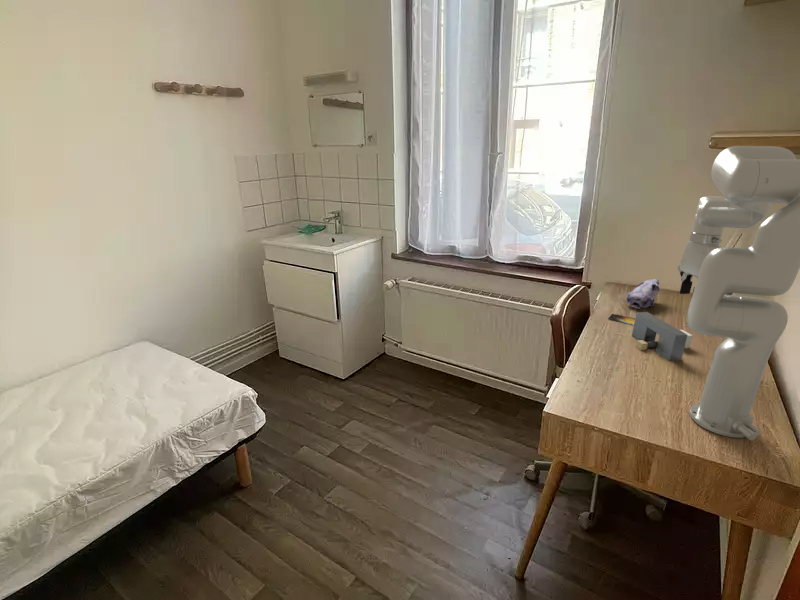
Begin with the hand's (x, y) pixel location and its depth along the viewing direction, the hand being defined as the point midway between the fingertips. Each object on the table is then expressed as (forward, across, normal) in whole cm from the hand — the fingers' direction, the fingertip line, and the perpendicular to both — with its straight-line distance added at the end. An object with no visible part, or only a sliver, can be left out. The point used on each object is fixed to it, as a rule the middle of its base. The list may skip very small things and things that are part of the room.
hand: (690, 295), depth 137 cm
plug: (+17, 0, +6) cm, 18 cm away
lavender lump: (+18, +34, -12) cm, 40 cm away
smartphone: (+18, +20, +3) cm, 27 cm away
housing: (+17, 0, +8) cm, 19 cm away
